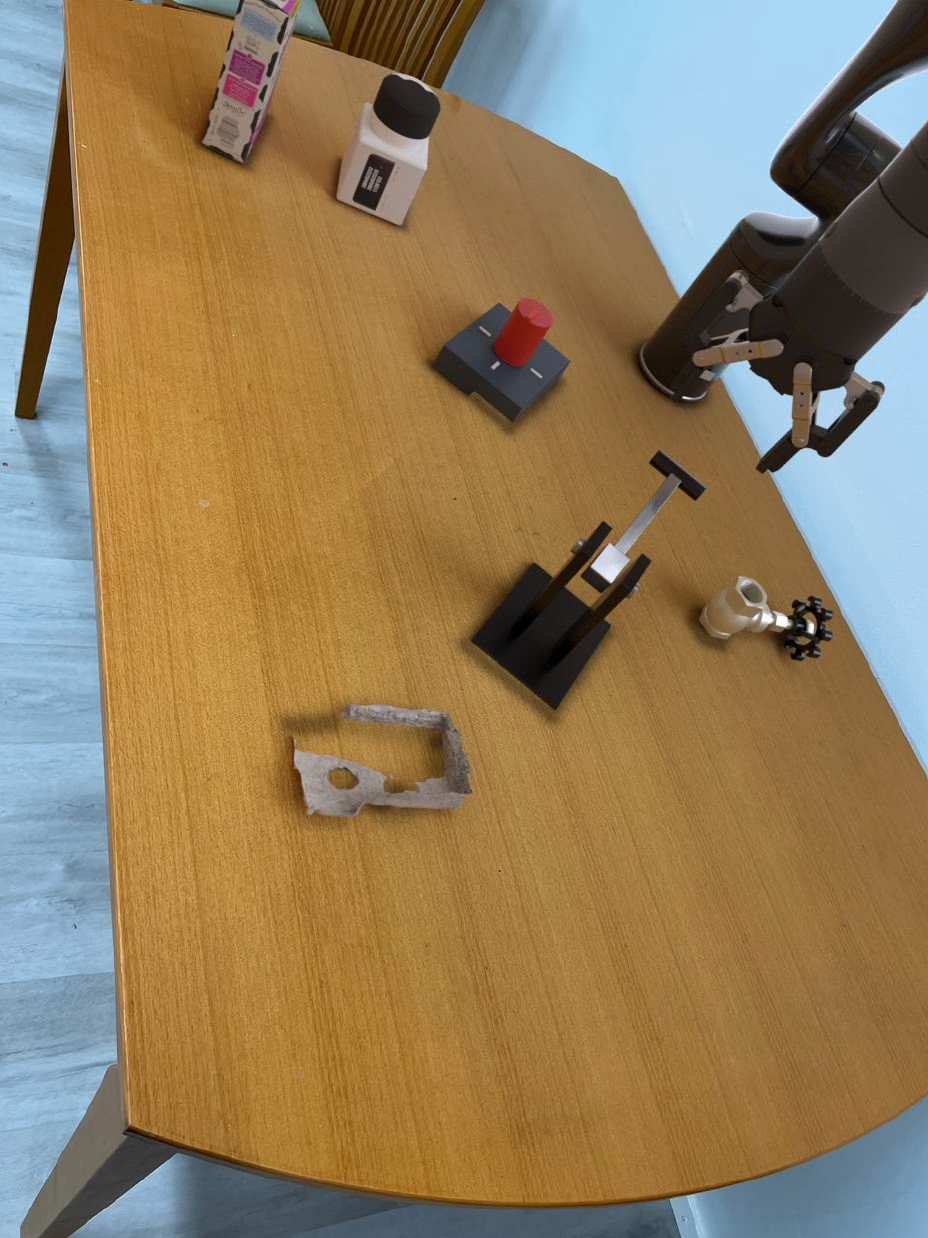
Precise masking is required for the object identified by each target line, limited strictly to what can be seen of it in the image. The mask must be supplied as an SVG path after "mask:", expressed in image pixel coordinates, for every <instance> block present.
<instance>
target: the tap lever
mask: <svg viewBox="0 0 928 1238" xmlns="http://www.w3.org/2000/svg"><path fill="white" fill-rule="evenodd" d="M648 464H649V465H650V466H651V468H654V469H655V470H656V471H657V472H658V473H659V474H661V475H662V476H663V477H664V480H663V481H662V483H661V484H660V485H659V487H658V488H657V489H656V490H655V492H654V493H653V494H652V496H650V498H649V500H647V502H646V503H645V504H644V506H643V507H642V508H641V509H640V511H639V512H638V513H637V515H636V516H635V517H634V518H633V520H632V521H631V522H630V524H629V525H628V526H627V527H626V529H624V531H623V532H622V534H621V535H620V536H619V537H618V539H617V540H616V541H615V543H614V544H612V543H611V542H608V543H606V544H605V545H604V546H603V547H602V548H601V549H600V550H599V551H598V552H597V554H595V556H594V558H593V559H592V560H591V561H590V563H589V564H588V565H587V566H586V567H585V569H584V570H583V572H582V573H581V574H580V576H579V577H580V578H581V579H582V580H583V581H585V582H586V583H587V584H588V585H590V586H591V587H592V588H593V589H594V590H595V591H597V592H598V593H599V594H603V593H604V592H605V591H606V590H607V589H608V588H609V587H610V586H611V585H612V584H613V583H614V581H615V580H616V579H617V578H618V577H619V576H620V575H621V574H622V573H623V572H624V570H625V568H626V567H627V565H628V564H629V563H630V562H631V559H630V557H629V556H628V555H626V554H627V553H628V551H629V550H630V549H631V547H632V546H633V545H634V544H635V542H636V541H637V540H638V539H639V537H640V536H641V535H642V533H643V532H644V531H645V530H646V528H647V527H648V526H649V524H650V523H651V522H652V521H653V519H654V518H655V517H656V515H657V514H658V513H659V511H660V510H661V509H662V508H663V506H664V505H665V504H666V503H667V501H668V500H669V498H671V496H672V495H673V494H674V492H675V490H677V489H679V490H680V491H682V492H683V493H684V494H685V495H686V496H688V497H689V498H690V499H691V500H692V501H694V502H696V501H697V500H698V499H699V498H700V497H701V496H702V495H703V494H704V492H705V491H706V490H707V487H706V486H705V485H704V484H703V483H702V482H700V481H699V480H698V479H697V478H695V477H694V476H693V475H692V474H690V472H688V471H687V470H685V469H684V467H682V466H681V465H679V463H677V462H676V461H675V460H674V459H673V458H671V457H670V456H668V455H667V454H666V453H665V452H664V451H662V450H661V449H658V450H657V451H656V453H654V455H653V456H652V457H651V459H650V460H649V461H648Z"/></svg>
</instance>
